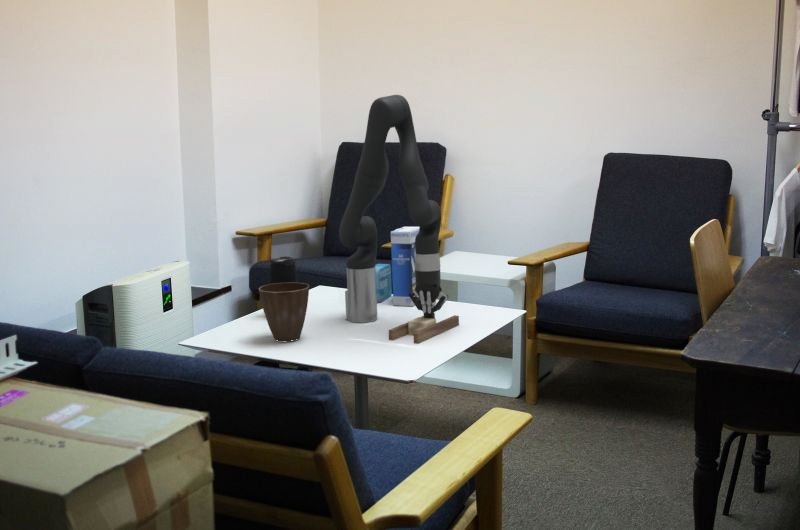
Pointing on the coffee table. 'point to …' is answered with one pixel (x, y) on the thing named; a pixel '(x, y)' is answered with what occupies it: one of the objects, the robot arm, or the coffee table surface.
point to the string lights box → (403, 264)
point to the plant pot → (285, 308)
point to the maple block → (419, 324)
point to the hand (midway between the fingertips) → (429, 324)
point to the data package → (383, 282)
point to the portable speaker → (282, 270)
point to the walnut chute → (425, 330)
